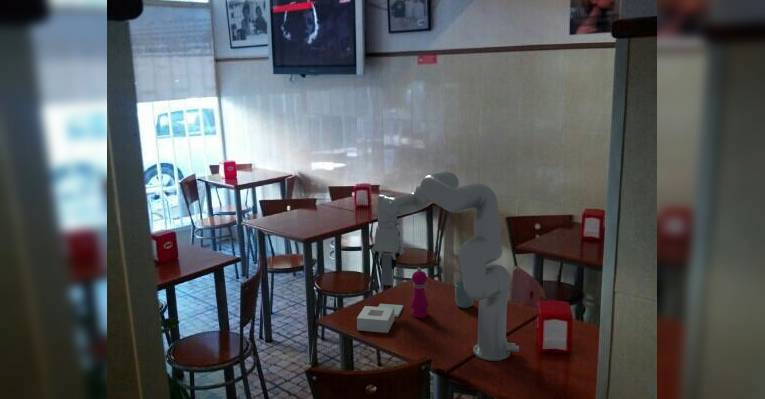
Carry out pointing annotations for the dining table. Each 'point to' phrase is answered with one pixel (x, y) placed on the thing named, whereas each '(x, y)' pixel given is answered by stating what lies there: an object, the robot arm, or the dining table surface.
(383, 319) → the socket block
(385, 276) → the steel pin
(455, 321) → the dining table surface
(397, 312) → the white square plate
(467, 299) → the cup
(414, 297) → the pepper mill
